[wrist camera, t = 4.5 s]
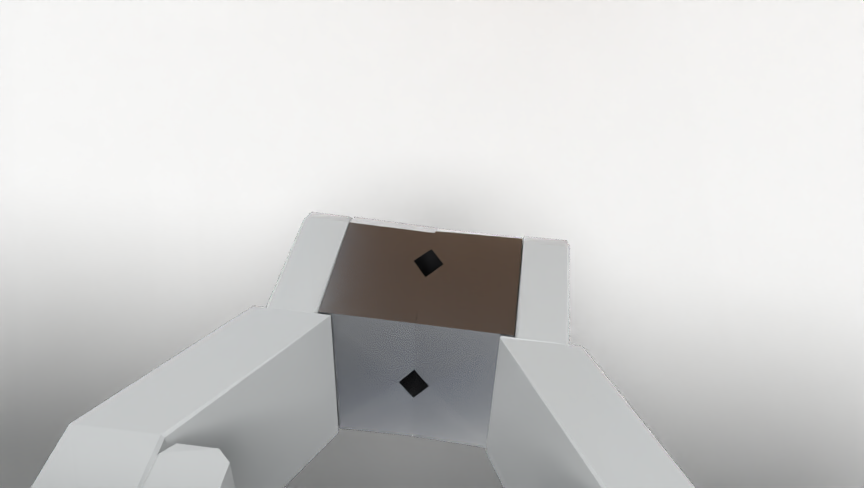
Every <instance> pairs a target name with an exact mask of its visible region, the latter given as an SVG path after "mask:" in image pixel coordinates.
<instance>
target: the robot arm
mask: <svg viewBox="0 0 864 488" xmlns="http://www.w3.org/2000/svg"><path fill="white" fill-rule="evenodd" d="M569 262H570V246H569V244H568V242H567V240H558V239H546V238H535V237H524V238H523V240H522V237H513V236H503V235H494V234H485V233H476V232H466V231H457V230H448V229H438V228H433V227H426V226H418V225H411V224H404V223H396V222H389V221H381V220H374V219H367V218H359V217H354V218H351V217H348V216H340V215H332V214H324V213H317V212H311V213H310V214H309V215H308V216H307V217H306V218H304V220H303V222H302V224H301V227H300V229H299V231H298V234H297V236H296V238H295V241H294V243H293V245H292V248H291V250H290V253H289V255H288V257H287V260H286V262H285V264H284V267H283V269H282V271H281V274H280V276H279V278H278V281H277V283H276V285H275V288H274V290H273V292H272V295H271V297H270V299H269V302H268V304H267V306H266V307H261V306H252V307H251V308H249V309H247V310H246V311H244V312H243V313H241V314H240V315H238V316H237V317H235V318H233V319H232V320H230V321H229V322H227V323H226V324H224V325H223V326H221V327H219V328H218V329H216V330H215V331H213V332H212V333H210V334H209V335H207V336H205V337H204V338H202V339H201V340H199V341H198V342H196V343H194V344H193V345H191V346H190V347H188V348H187V349H185V350H184V351H182V352H180V353H179V354H177V355H176V356H174V357H173V358H171V359H170V360H168V361H166V362H165V363H163V364H162V365H160V366H159V367H157V368H155V369H154V370H152V371H151V372H149V373H148V374H146V375H145V376H143V377H141V378H140V379H138V380H137V381H135V382H134V383H132V384H131V385H129V386H127V387H126V388H124V389H123V390H121V391H120V392H118V393H117V394H115V395H113V396H112V397H110V398H109V399H107V400H106V401H104V402H102V403H101V404H99V405H98V406H96V407H95V408H93V409H92V410H90V411H88V412H87V413H85V414H84V415H82V416H81V417H79V418H78V419H76V420H74V421H73V422H71V423H70V424H69V425H68V427H67V428H66V430H65V432H64V433H63V435H62V437H61V438H60V440H59V442H58V443H57V445H56V446H55V448H54V450H53V451H52V453H51V455H50V456H49V458H48V460H47V461H46V463H45V465H44V466H43V468H42V470H41V471H40V473H39V475H38V476H37V478H36V480H35V481H34V483H33V485H32V486H31V488H284V487H285V486H286V485H287V484H288V483H289V482H290V481H291V480H292V479H293V478H294V477H295V476H296V475H297V474H298V473H299V472H300V471H301V470H302V469H303V468H304V467H305V466H306V465H307V464H308V463H309V462H310V461H311V460H312V459H313V458H314V457H315V456H316V455H317V454H318V453H319V452H320V451H321V450H322V449H323V448H324V447H325V446H326V445H327V444H328V443H329V442H330V441H331V440H332V439H333V438H334V437H335V436H336V435H337V434H338V433H339V430H338V428H342V429H351V430H360V431H370V432H379V433H388V434H397V435H407V436H412V435H413V436H414V437H421V438H427V439H433V440H439V441H445V442H451V443H458V444H464V445H470V446H476V447H482V448H486V453H487V455H488V457H489V459H490V461H491V463H492V465H493V467H494V469H495V472H496V474H497V476H498V478H499V480H500V482H501V484H502V486H503V488H695V487H694V485H693V484H692V483H691V482H690V480H689V479H688V478H687V477H686V475H685V474H684V473H683V472H682V470H681V469H680V468H679V467H678V465H677V464H676V463H675V462H674V460H673V459H672V458H671V457H670V455H669V454H668V453H667V452H666V450H665V449H664V448H663V447H662V445H661V444H660V443H659V442H658V440H657V439H656V438H655V437H654V435H653V434H652V433H651V432H650V430H649V429H648V428H647V427H646V425H645V424H644V423H643V422H642V420H641V419H640V418H639V417H638V415H637V414H636V413H635V412H634V410H633V409H632V408H631V407H630V405H629V404H628V403H627V402H626V400H625V399H624V398H623V397H622V395H621V394H620V393H619V391H618V390H617V389H616V388H615V386H614V385H613V384H612V383H611V381H610V380H609V379H608V378H607V376H606V375H605V374H604V373H603V371H602V370H601V369H600V368H599V366H598V365H597V364H596V363H595V361H594V360H593V359H592V358H591V356H590V355H589V354H588V353H587V351H586V350H585V349H584V348H583V347H582V346H576V345H569Z"/></svg>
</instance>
